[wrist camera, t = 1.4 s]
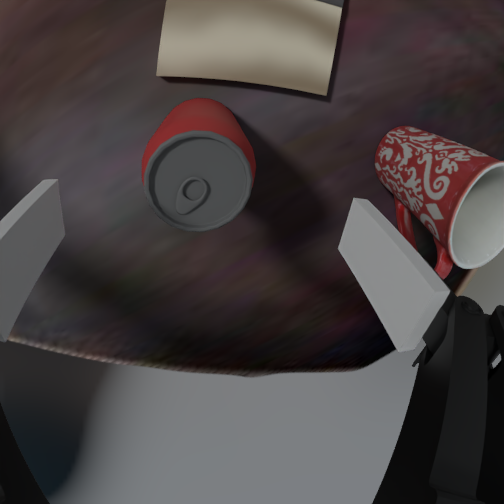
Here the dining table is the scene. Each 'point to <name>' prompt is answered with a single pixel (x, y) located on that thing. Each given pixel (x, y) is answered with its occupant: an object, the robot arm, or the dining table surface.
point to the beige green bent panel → (251, 41)
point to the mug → (445, 195)
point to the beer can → (198, 167)
